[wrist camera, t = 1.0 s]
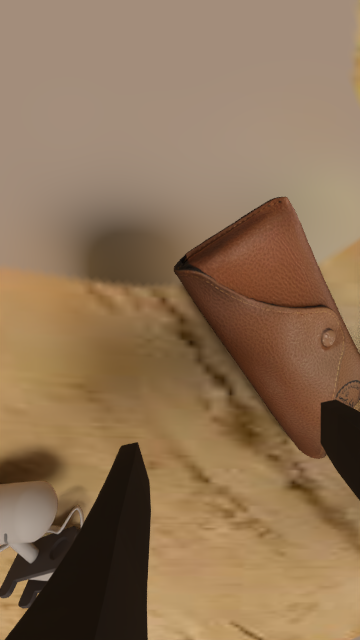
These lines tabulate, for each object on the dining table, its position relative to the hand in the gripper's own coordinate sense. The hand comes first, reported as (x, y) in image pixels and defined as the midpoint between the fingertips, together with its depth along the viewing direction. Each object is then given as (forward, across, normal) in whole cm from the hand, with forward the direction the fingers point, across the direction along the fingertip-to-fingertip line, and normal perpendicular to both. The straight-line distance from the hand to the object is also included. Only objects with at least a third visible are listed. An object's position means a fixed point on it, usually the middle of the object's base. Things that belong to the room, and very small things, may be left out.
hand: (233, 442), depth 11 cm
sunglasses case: (+10, -7, +1) cm, 12 cm away
